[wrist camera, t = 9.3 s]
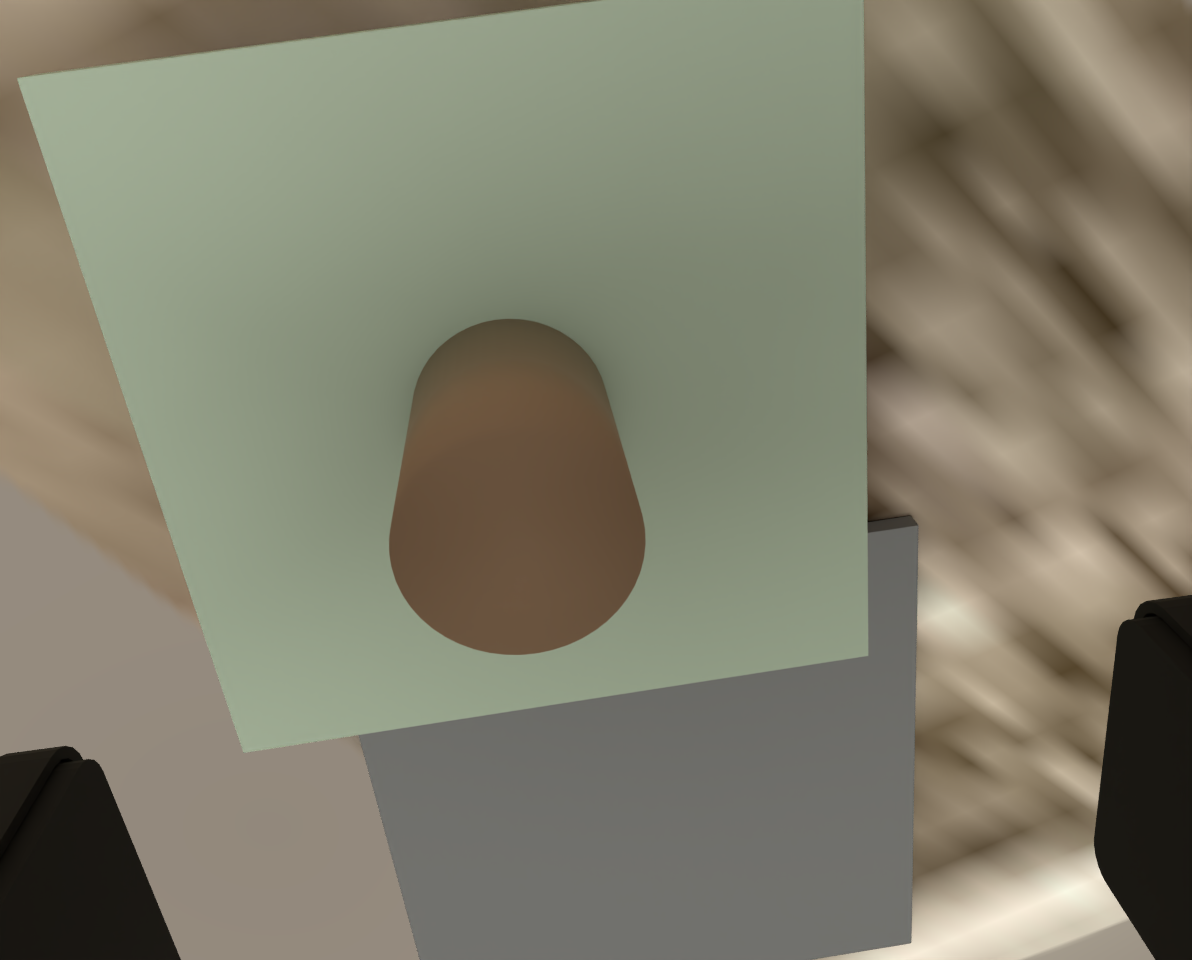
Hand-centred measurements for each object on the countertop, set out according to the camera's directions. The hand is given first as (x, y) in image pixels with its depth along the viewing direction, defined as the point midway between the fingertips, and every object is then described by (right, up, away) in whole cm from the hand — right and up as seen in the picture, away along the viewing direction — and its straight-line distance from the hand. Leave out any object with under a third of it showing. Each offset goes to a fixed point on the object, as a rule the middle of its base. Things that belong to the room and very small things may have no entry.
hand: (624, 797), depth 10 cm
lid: (-2, +4, +10) cm, 11 cm away
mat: (+2, -7, +24) cm, 25 cm away
